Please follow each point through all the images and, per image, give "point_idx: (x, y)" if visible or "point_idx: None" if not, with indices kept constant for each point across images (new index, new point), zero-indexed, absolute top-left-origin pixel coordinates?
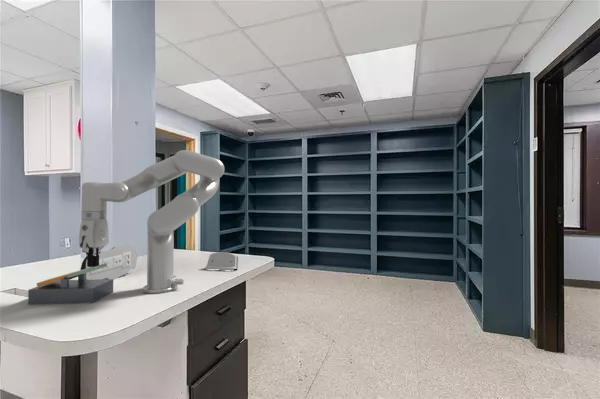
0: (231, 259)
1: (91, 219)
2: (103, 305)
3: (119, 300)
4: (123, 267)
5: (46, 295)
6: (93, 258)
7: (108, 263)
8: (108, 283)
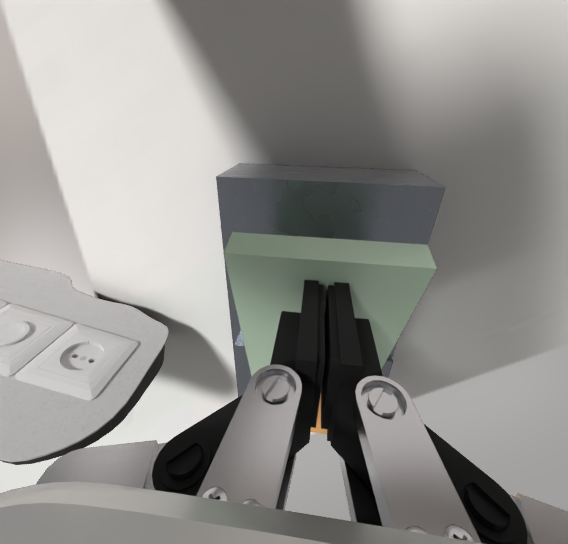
0: None
1: None
2: (487, 78)
3: (411, 18)
4: None
5: None
6: (369, 362)
7: (3, 334)
8: (275, 176)
